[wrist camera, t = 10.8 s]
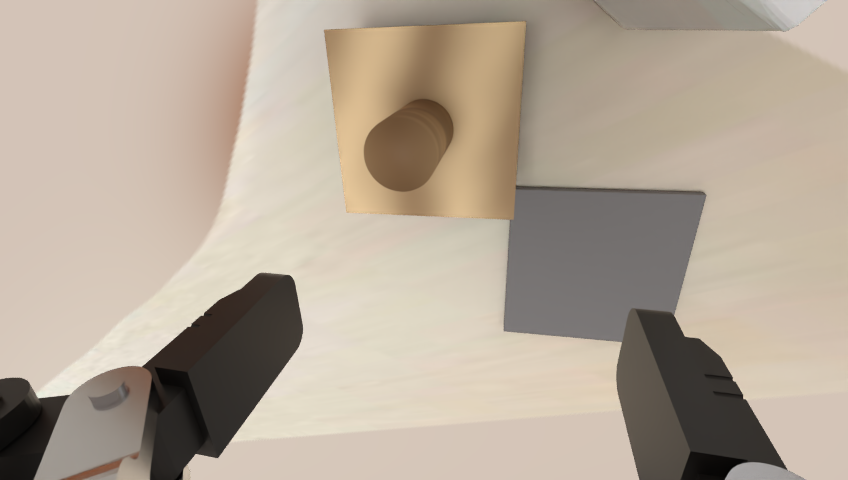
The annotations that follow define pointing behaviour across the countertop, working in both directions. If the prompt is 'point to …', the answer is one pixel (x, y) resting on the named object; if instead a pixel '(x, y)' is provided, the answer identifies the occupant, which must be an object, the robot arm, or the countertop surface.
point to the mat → (596, 258)
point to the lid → (428, 117)
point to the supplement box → (710, 14)
